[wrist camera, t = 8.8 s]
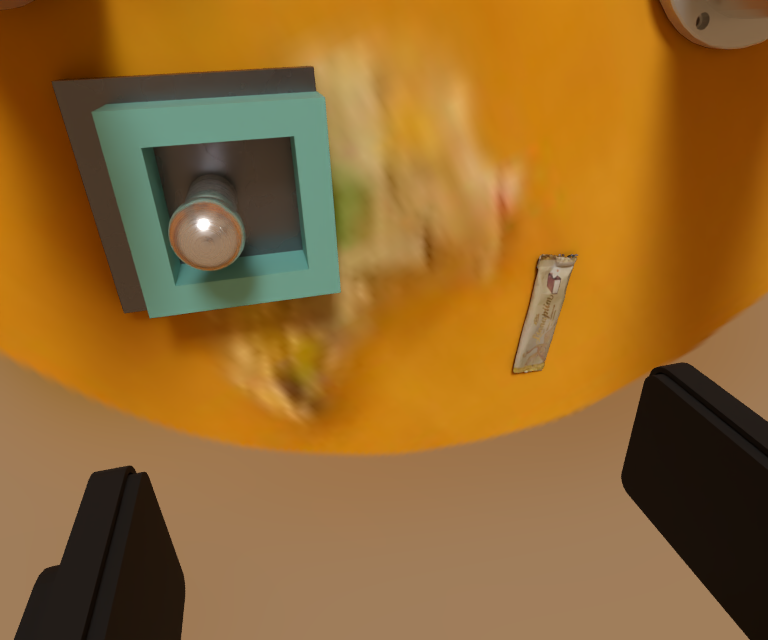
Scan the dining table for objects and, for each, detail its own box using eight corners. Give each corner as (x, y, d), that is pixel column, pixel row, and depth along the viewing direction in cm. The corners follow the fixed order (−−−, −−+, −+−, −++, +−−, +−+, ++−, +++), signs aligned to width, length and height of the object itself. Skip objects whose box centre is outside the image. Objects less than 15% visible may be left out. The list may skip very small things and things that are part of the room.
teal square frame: (316, 91, 27) (325, 97, 24) (332, 271, 32) (340, 292, 29) (106, 104, 25) (91, 111, 22) (157, 293, 30) (149, 318, 27)
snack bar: (546, 370, 41) (519, 379, 39) (532, 360, 42) (505, 369, 40) (580, 254, 36) (551, 259, 35) (563, 246, 37) (534, 251, 36)
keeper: (311, 65, 27) (339, 77, 20) (331, 278, 33) (358, 347, 26) (57, 79, 25) (-17, 98, 18) (127, 305, 31) (93, 390, 23)
